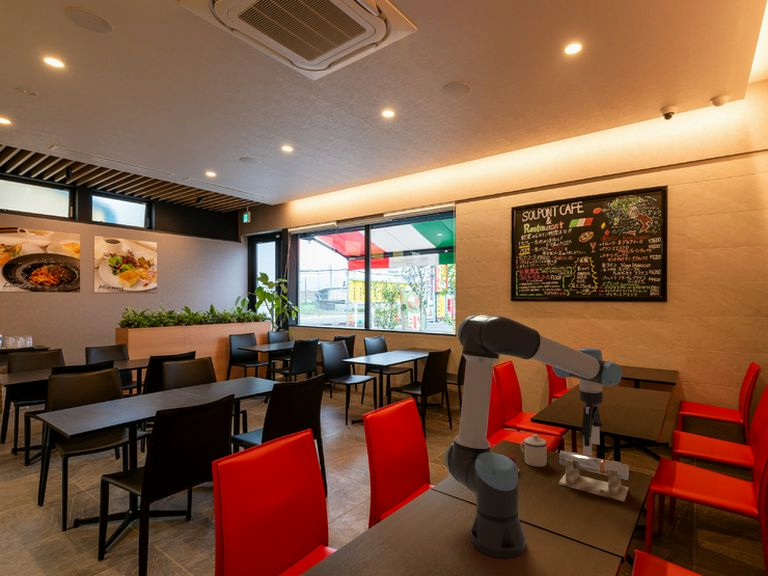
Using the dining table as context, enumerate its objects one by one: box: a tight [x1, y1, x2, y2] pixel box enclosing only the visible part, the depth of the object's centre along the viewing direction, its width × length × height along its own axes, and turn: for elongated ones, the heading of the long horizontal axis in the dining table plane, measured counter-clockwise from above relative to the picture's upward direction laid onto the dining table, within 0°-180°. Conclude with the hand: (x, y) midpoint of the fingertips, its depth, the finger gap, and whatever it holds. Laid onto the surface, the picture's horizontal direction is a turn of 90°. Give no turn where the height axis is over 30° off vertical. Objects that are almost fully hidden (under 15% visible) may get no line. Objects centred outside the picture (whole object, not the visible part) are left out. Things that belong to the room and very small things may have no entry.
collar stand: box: [558, 451, 629, 502], centre depth 149 cm, size 21×10×10 cm, turn 52°
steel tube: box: [558, 450, 630, 481], centre depth 148 cm, size 22×5×5 cm, turn 52°
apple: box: [503, 453, 520, 474], centre depth 164 cm, size 8×8×6 cm
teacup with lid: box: [520, 434, 548, 468], centre depth 172 cm, size 12×9×12 cm
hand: (591, 449), depth 149 cm, fingers open, 13 cm apart
